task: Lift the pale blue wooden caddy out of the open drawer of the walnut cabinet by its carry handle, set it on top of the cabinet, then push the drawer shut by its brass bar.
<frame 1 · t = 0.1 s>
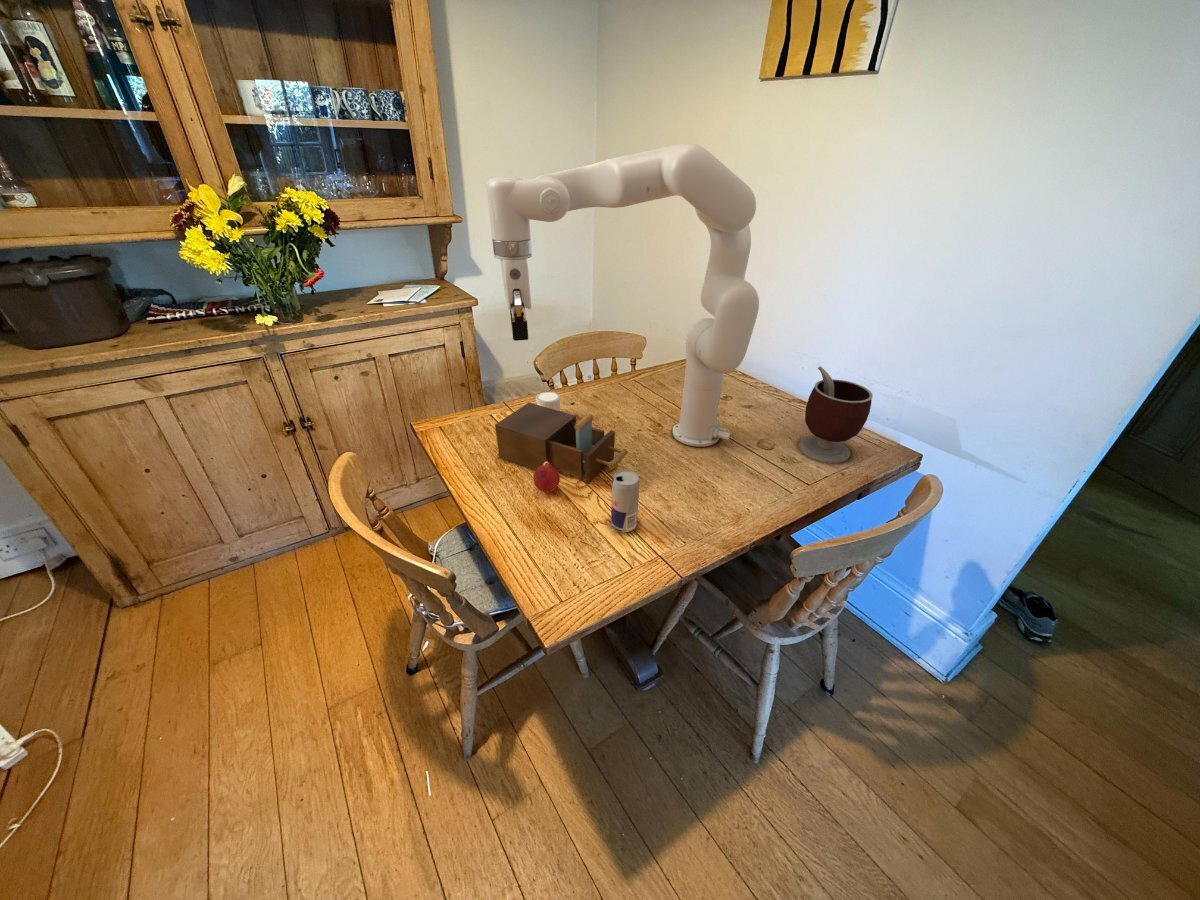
hand: (519, 332, 101), 31 cm above the table, tool pointing down, fingers open, 9 cm apart
drawer: (586, 452, 109), point 5 cm above the table, slide at 10.0 cm, touching caddy
onion: (547, 492, 104), on the table
mate gourd: (821, 449, 121), on the table
shot glass: (549, 418, 133), on the table
cabinet: (538, 452, 118), on the table
caddy: (584, 461, 111), point 2 cm above the table, touching drawer
energy drink: (623, 525, 95), on the table
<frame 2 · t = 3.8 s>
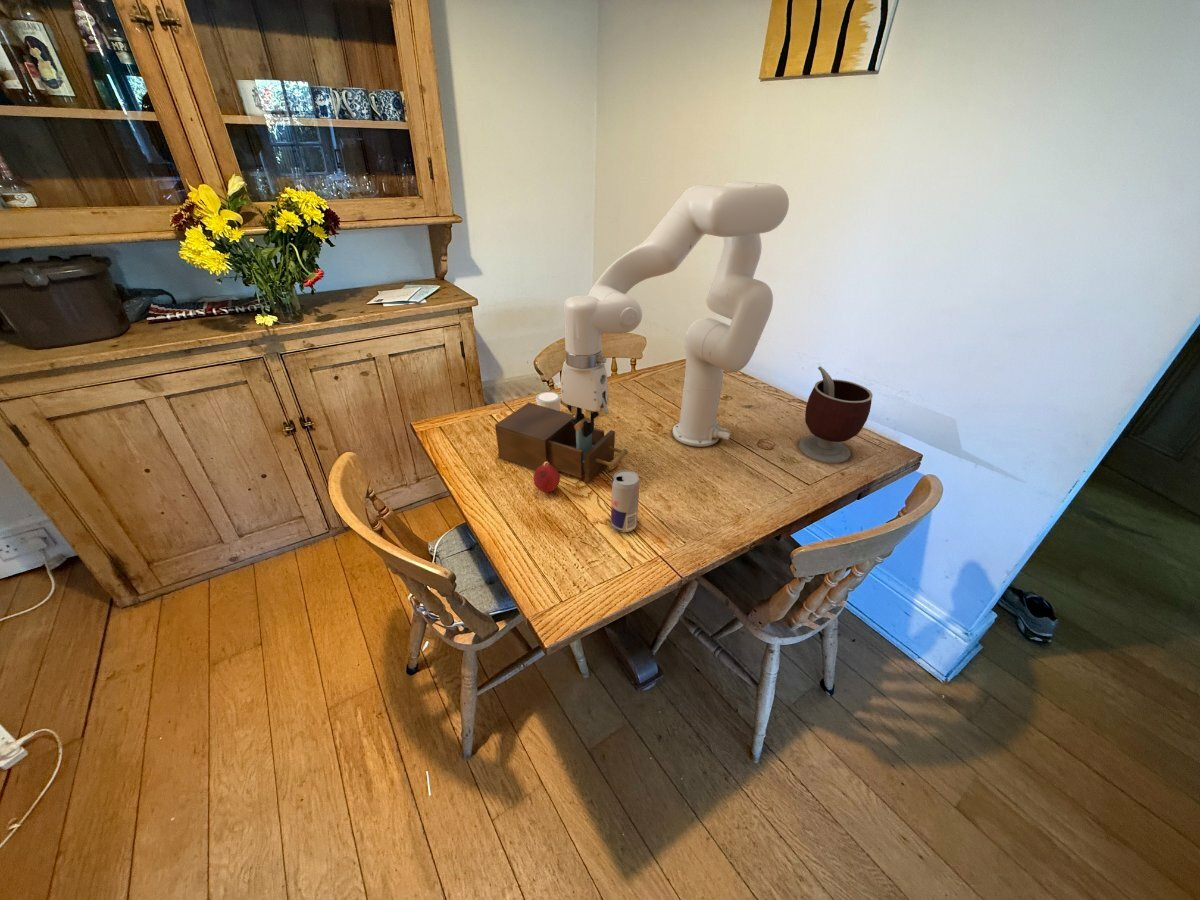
hand: (584, 432, 107), 10 cm above the table, tool pointing down, fingers closed on caddy
caddy: (584, 461, 111), point 2 cm above the table, touching drawer, gripper
everything else where it was.
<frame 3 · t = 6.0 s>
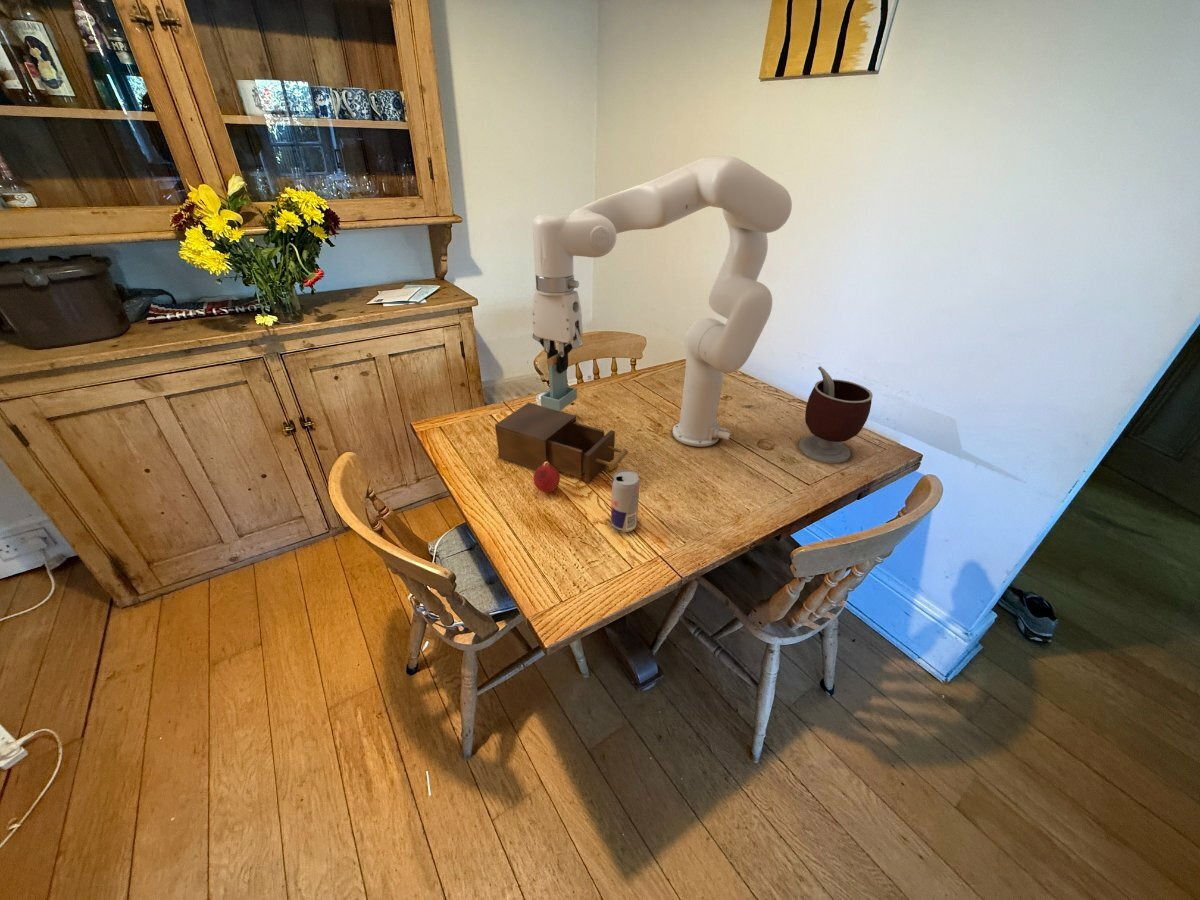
hand: (558, 369, 102), 24 cm above the table, tool pointing down, fingers closed on caddy
drawer: (586, 452, 109), point 5 cm above the table, slide at 10.0 cm
caddy: (559, 402, 106), point 16 cm above the table, touching gripper
everything else where it was.
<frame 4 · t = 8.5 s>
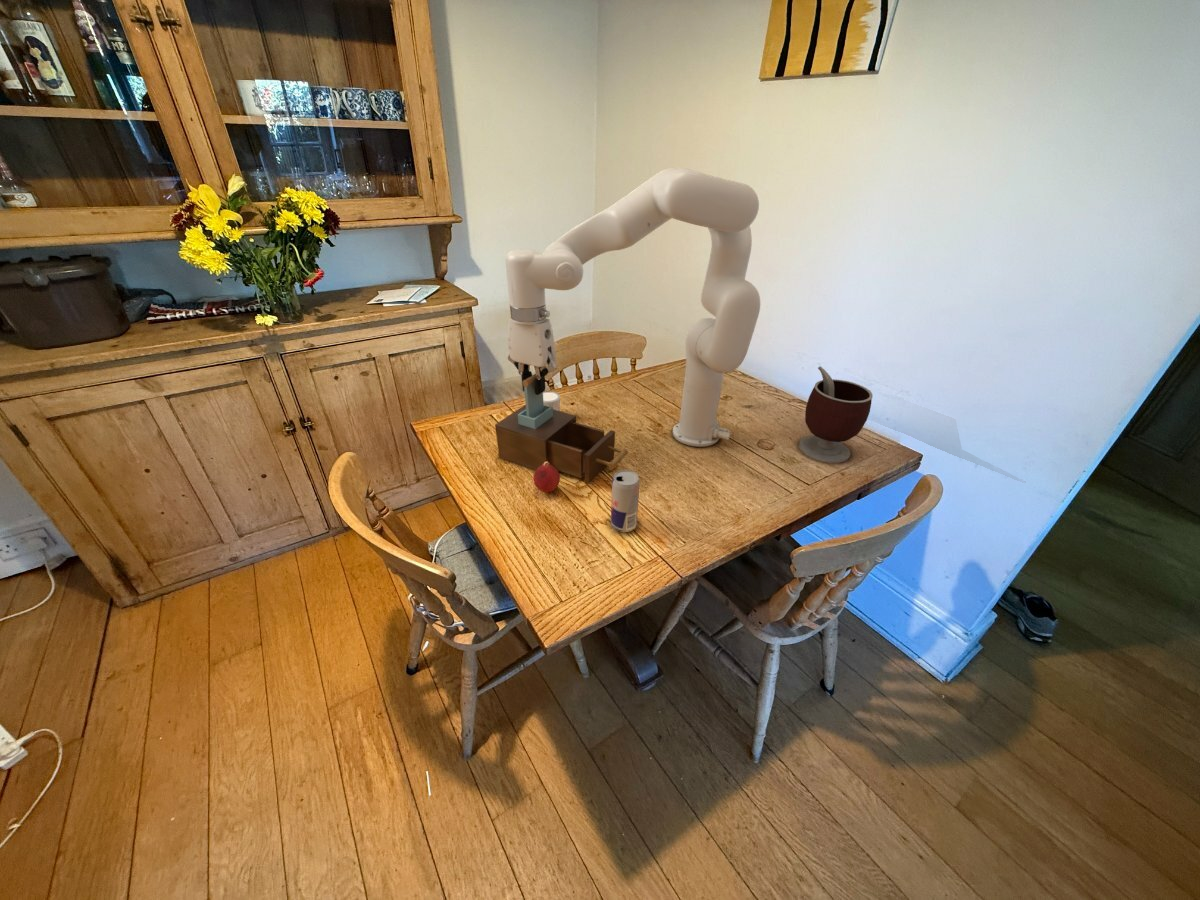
hand: (534, 390, 108), 18 cm above the table, tool pointing down, fingers closed
caddy: (536, 420, 112), point 10 cm above the table, touching cabinet
everything else where it was.
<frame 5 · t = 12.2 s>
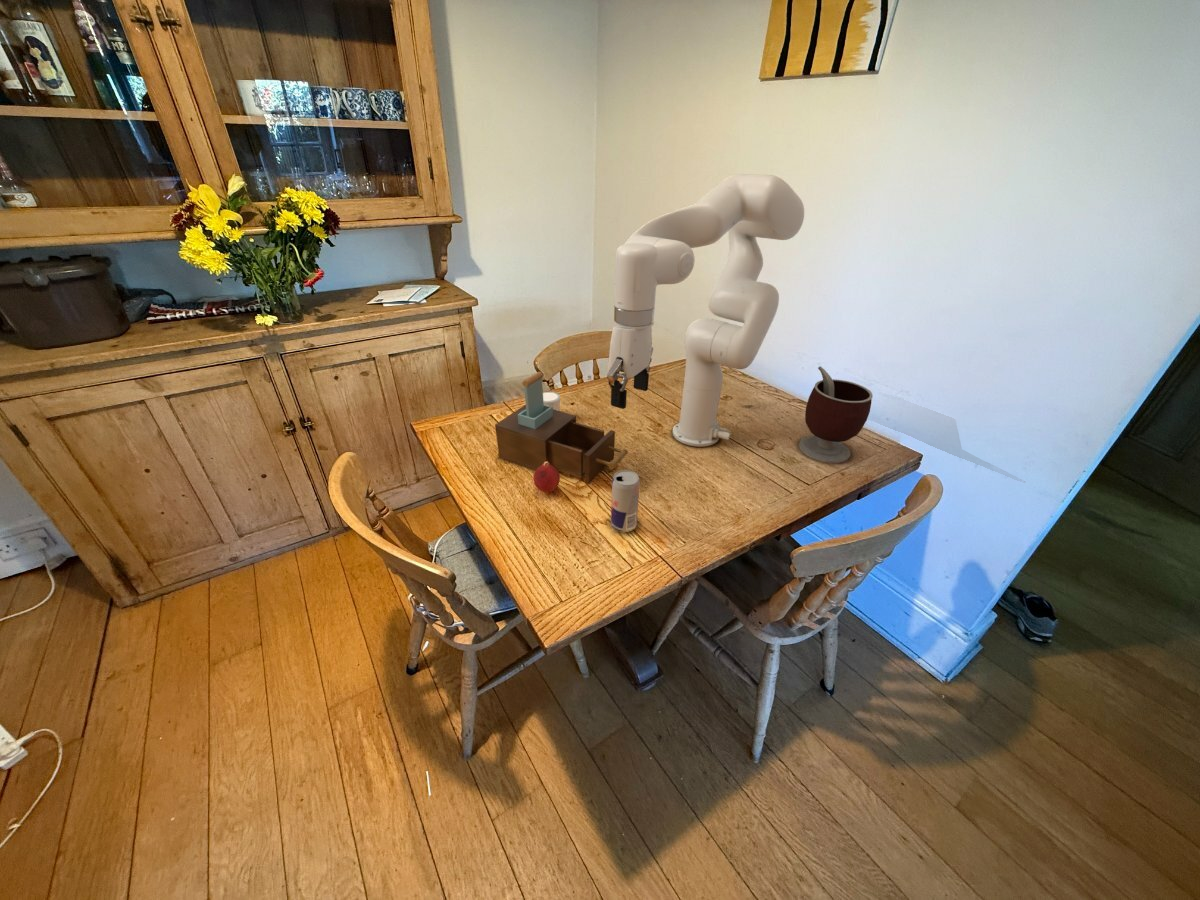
hand: (629, 397, 96), 22 cm above the table, tool pointing down, fingers open, 9 cm apart
nothing on the table moved.
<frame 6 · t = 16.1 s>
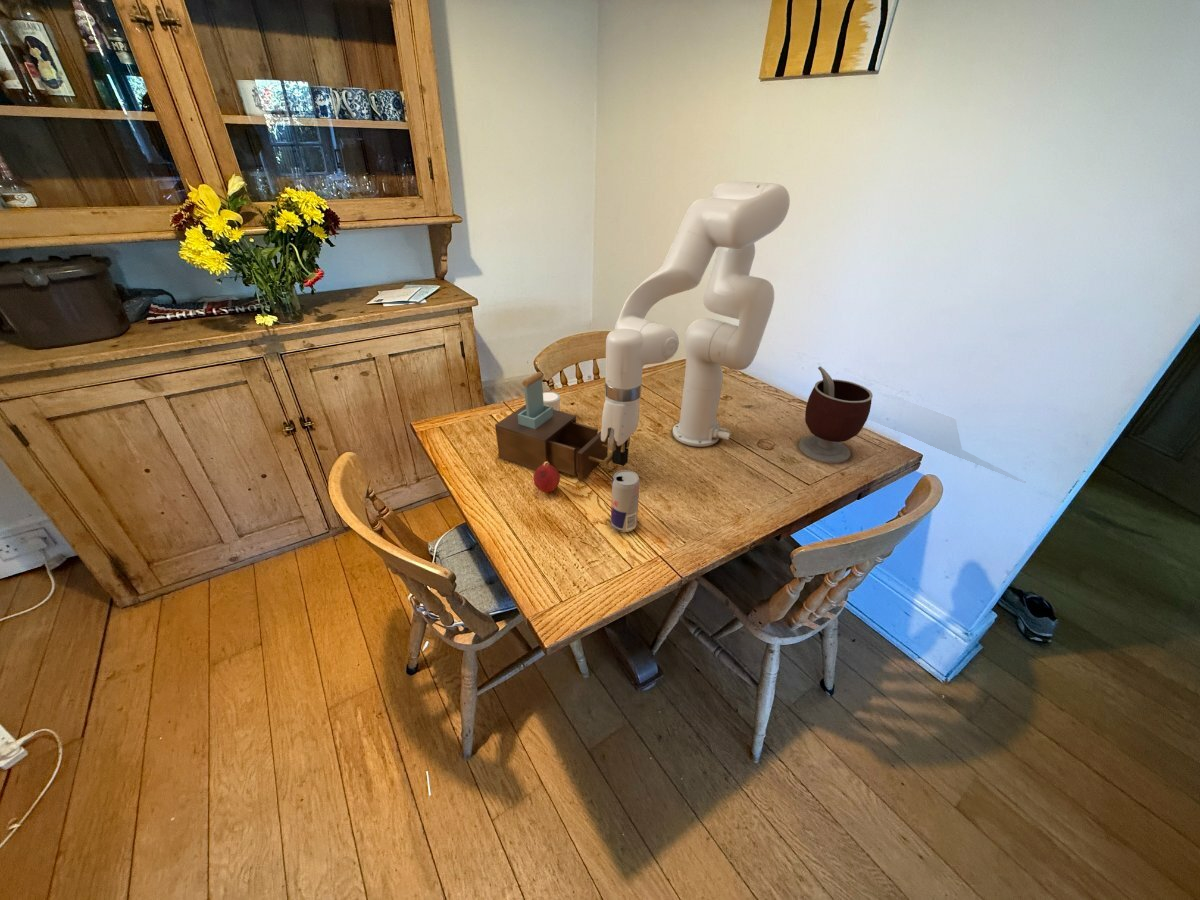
hand: (619, 462, 106), 5 cm above the table, tool pointing down, fingers closed
drawer: (579, 450, 110), point 5 cm above the table, slide at 8.1 cm
everything else where it was.
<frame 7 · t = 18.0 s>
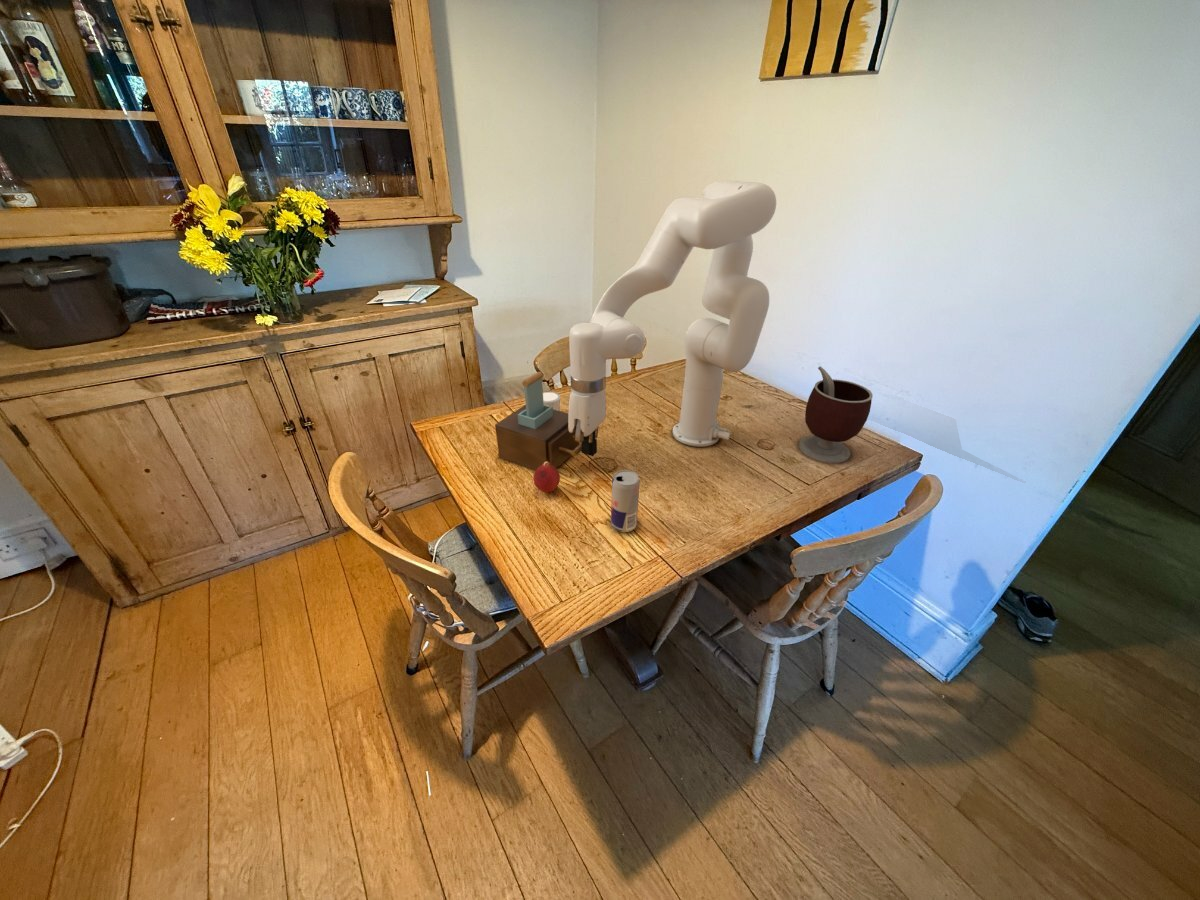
hand: (589, 453, 109), 5 cm above the table, tool pointing down, fingers closed
drawer: (551, 441, 113), point 5 cm above the table, slide at 0.0 cm, touching cabinet, gripper
everything else where it was.
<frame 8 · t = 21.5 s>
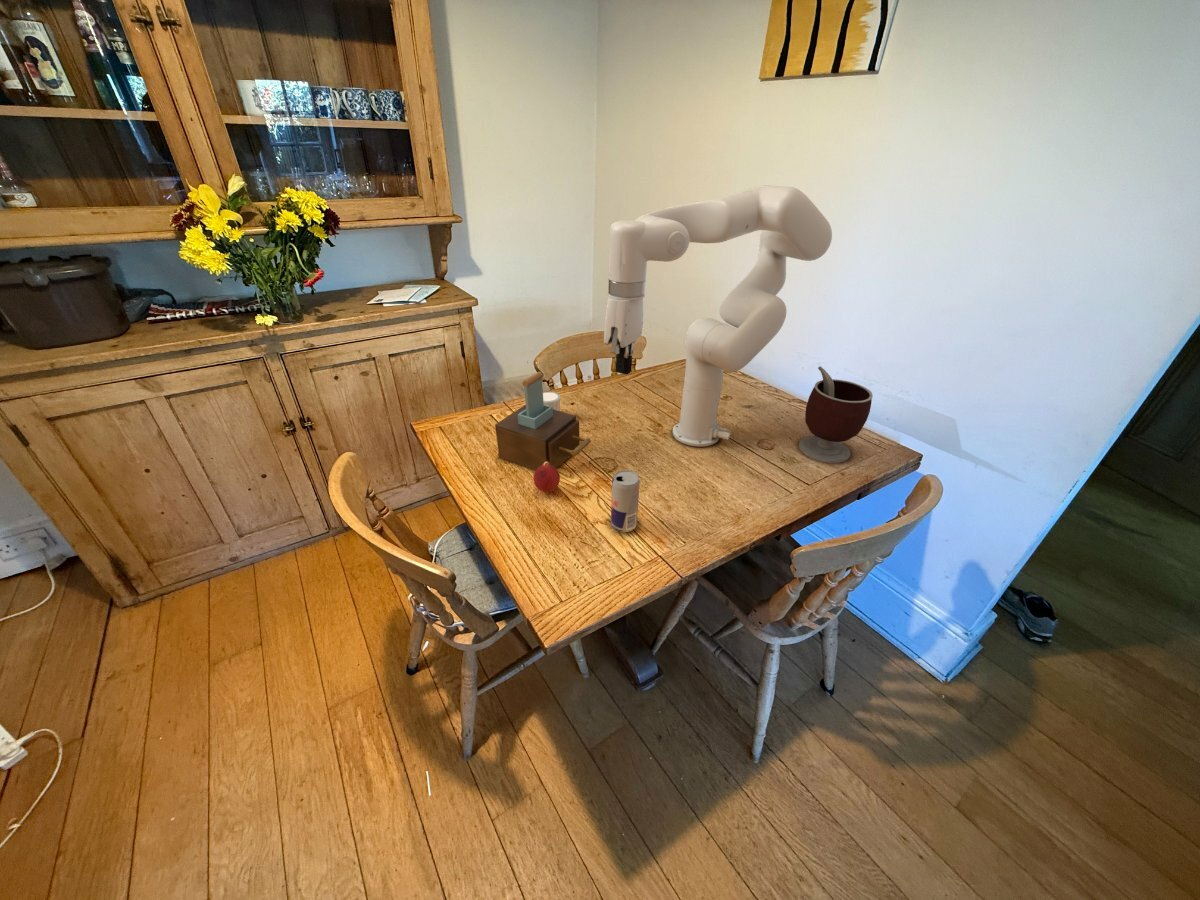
hand: (623, 372, 104), 23 cm above the table, tool pointing down, fingers closed
drawer: (551, 441, 113), point 5 cm above the table, slide at 0.0 cm, touching cabinet
everything else where it was.
at the end: caddy inside the target area on the cabinet (0.1 cm from its centre), point 9.6 cm above the cabinet's base; caddy tilted 0°; drawer slide at 0.0 cm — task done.
